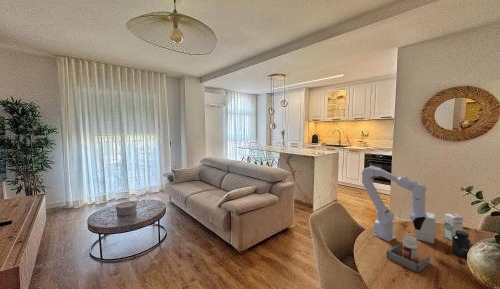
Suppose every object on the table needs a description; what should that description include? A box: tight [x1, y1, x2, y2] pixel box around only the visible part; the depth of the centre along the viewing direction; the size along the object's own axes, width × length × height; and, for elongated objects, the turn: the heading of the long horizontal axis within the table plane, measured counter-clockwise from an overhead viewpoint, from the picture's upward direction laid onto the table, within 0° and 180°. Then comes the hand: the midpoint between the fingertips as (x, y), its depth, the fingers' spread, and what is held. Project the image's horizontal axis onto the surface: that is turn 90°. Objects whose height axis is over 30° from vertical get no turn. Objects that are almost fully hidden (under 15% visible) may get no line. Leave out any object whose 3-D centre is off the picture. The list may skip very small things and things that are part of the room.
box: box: [386, 243, 431, 274], centre depth 106 cm, size 14×13×4 cm
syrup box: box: [443, 212, 464, 241], centre depth 125 cm, size 6×6×14 cm
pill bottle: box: [401, 235, 419, 264], centre depth 106 cm, size 6×6×11 cm
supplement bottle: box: [451, 230, 472, 259], centre depth 109 cm, size 7×7×12 cm
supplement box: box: [414, 211, 436, 244], centre depth 126 cm, size 9×9×15 cm
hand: (417, 229), depth 117 cm, fingers closed
